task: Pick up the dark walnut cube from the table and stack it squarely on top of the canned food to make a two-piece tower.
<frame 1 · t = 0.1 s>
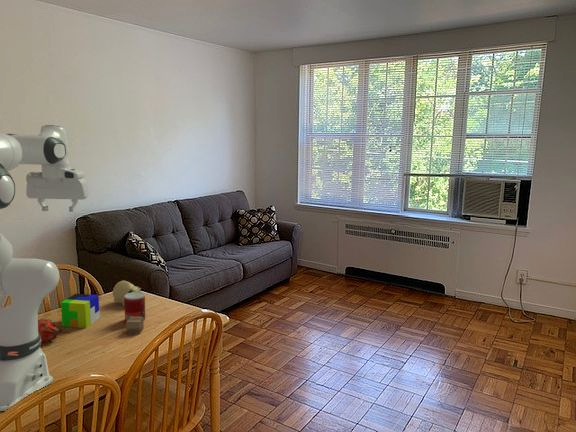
hand: (58, 211, 157), 48 cm above the table, fingers open, 8 cm apart
canned food: (135, 320, 181), on the table
dragon fruit: (46, 340, 162), on the table
puzzle toy: (81, 322, 178), on the table
walnut cube: (135, 331, 171), on the table
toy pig: (127, 304, 198), on the table
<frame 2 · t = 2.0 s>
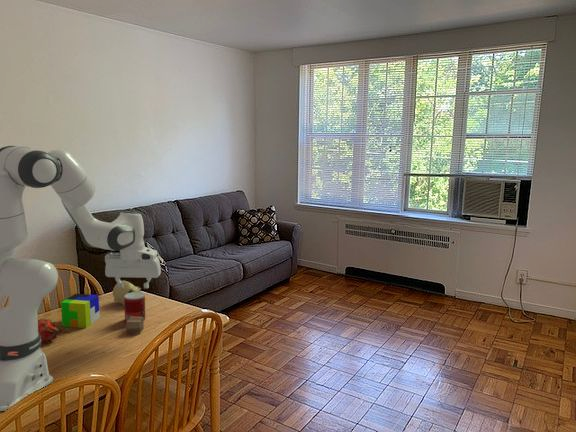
hand: (133, 287, 168), 18 cm above the table, fingers open, 8 cm apart
nothing on the table moved.
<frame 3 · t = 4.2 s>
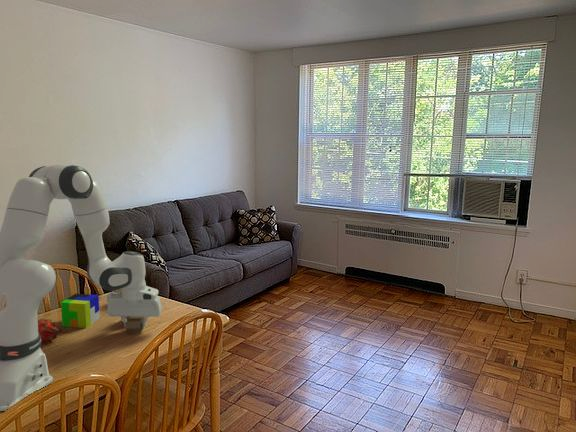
hand: (135, 326, 171), 2 cm above the table, fingers closed on walnut cube, 5 cm apart
walnut cube: (135, 330, 171), on the table, touching gripper
everything else where it was.
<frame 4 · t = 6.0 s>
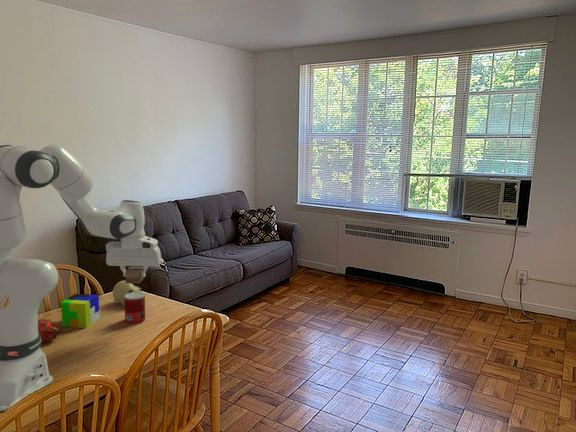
hand: (134, 276, 170), 22 cm above the table, fingers closed on walnut cube, 5 cm apart
walnut cube: (134, 281, 170), point 20 cm above the table, touching gripper
everything else where it was.
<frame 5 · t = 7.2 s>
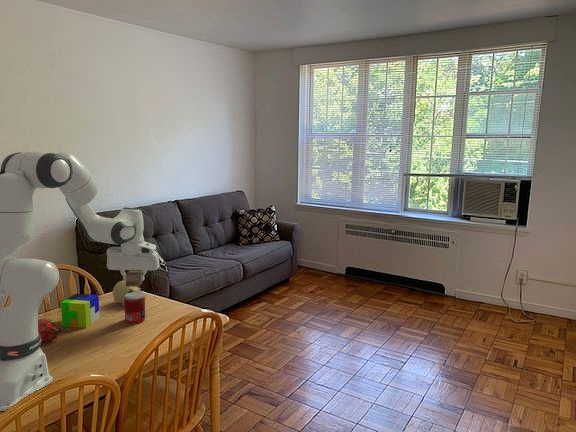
hand: (133, 280, 178), 17 cm above the table, fingers closed on walnut cube, 5 cm apart
walnut cube: (134, 284, 178), point 15 cm above the table, touching gripper
everything else where it was.
when the fingers open (14 cm above the table, at t = 8.2 s): walnut cube drops 1 cm, resting on canned food.
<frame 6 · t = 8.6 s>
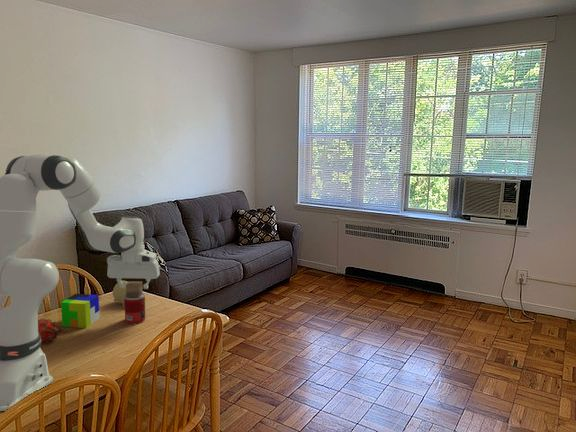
hand: (134, 288, 179), 14 cm above the table, fingers open, 8 cm apart
canned food: (135, 320, 181), on the table, touching walnut cube
walnut cube: (134, 295, 179), point 11 cm above the table, touching canned food
everything else where it was.
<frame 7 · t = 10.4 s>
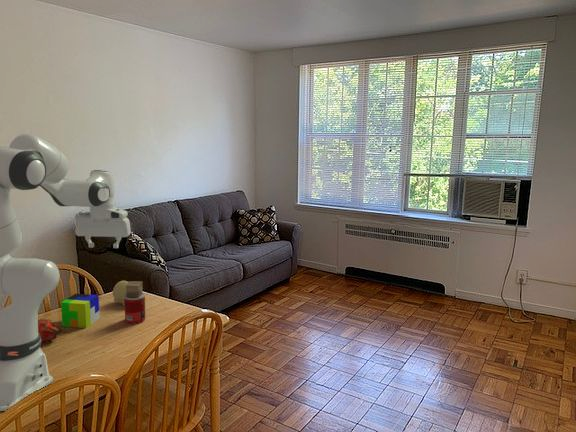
hand: (103, 247, 170), 32 cm above the table, fingers open, 8 cm apart
nothing on the table moved.
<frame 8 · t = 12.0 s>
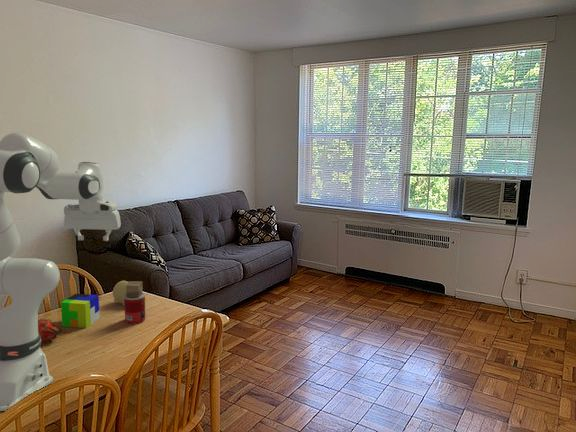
hand: (93, 240, 168), 35 cm above the table, fingers open, 8 cm apart
nothing on the table moved.
at the end: walnut cube inside the target area on the canned food (0.0 cm from its centre), point 11.2 cm above the canned food's base; walnut cube tilted 0°; the gripper is holding nothing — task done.
